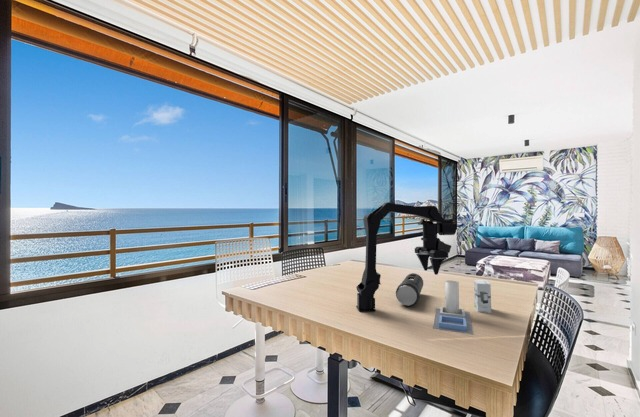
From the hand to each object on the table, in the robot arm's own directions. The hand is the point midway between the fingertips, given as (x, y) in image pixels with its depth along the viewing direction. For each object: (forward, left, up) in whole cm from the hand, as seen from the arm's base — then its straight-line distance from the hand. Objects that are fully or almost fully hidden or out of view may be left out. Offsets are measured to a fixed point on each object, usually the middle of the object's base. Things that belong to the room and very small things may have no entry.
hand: (430, 272), depth 121 cm
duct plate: (0, -16, -15) cm, 22 cm away
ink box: (+19, -6, -15) cm, 25 cm away
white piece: (+3, -11, -14) cm, 18 cm away
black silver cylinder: (-4, +11, -15) cm, 19 cm away
